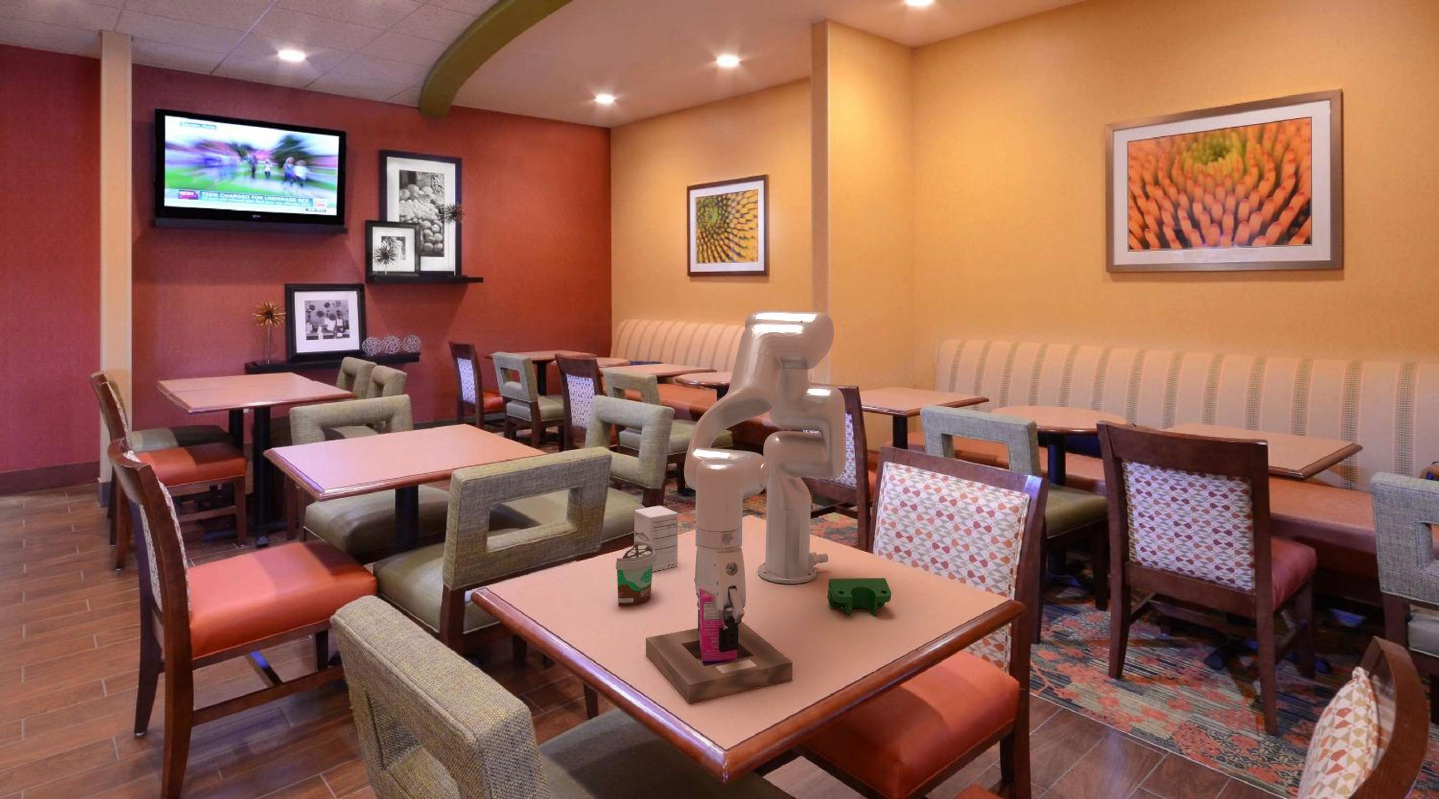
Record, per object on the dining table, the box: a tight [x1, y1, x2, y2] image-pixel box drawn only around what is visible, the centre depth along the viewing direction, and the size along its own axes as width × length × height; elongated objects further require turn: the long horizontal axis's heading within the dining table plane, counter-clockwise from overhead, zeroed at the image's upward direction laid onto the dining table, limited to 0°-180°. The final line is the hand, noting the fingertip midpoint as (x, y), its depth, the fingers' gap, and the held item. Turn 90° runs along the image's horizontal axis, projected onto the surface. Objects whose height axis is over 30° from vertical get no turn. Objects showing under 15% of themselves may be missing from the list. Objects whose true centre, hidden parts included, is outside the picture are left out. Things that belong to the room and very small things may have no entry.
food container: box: [615, 540, 657, 607], centre depth 161 cm, size 12×6×10 cm, turn 168°
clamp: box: [826, 577, 892, 618], centre depth 157 cm, size 12×6×9 cm
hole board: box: [645, 620, 794, 705], centre depth 133 cm, size 18×18×3 cm
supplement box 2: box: [699, 588, 737, 665], centre depth 132 cm, size 6×6×12 cm
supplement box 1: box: [633, 505, 679, 573], centre depth 181 cm, size 7×7×13 cm
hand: (717, 639), depth 133 cm, fingers closed on supplement box 2, 7 cm apart
